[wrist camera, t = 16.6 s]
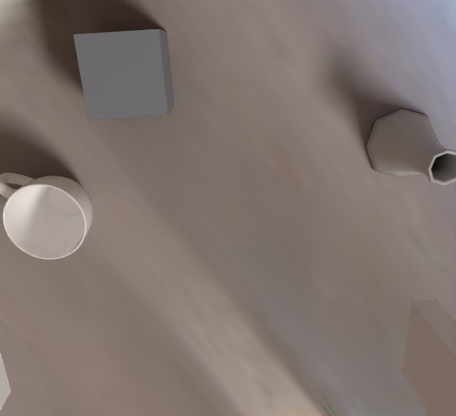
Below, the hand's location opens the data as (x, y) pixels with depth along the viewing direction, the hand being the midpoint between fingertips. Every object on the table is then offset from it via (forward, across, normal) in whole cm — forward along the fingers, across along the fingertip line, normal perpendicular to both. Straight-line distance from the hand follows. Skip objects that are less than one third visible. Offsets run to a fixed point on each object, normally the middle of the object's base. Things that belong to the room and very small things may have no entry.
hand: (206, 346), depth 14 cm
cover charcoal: (+34, -7, +7) cm, 35 cm away
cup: (+34, -17, -5) cm, 38 cm away
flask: (+34, +20, -1) cm, 39 cm away
